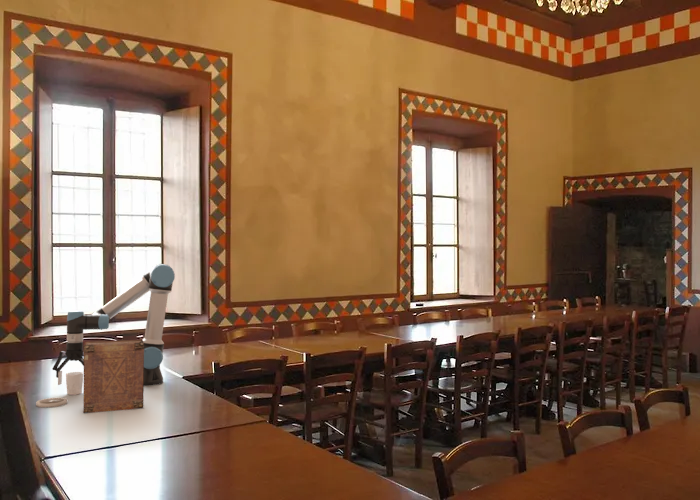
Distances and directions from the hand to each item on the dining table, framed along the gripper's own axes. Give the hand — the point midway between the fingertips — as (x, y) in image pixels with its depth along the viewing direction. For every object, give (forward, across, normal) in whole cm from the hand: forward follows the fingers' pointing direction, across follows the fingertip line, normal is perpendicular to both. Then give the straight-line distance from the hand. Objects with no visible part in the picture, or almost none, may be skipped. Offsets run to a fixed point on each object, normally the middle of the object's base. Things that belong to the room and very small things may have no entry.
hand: (73, 384), depth 315 cm
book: (+4, +29, -31) cm, 43 cm away
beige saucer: (+5, -2, -22) cm, 22 cm away
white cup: (+5, 0, 0) cm, 5 cm away
